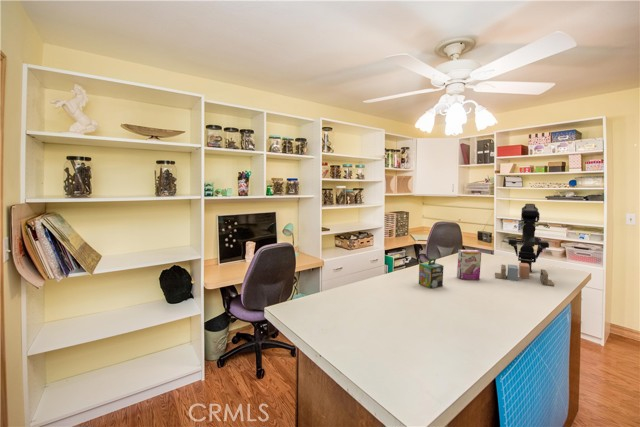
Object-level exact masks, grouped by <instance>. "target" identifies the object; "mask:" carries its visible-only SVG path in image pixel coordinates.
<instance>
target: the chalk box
mask: <svg viewBox="0 0 640 427" xmlns="http://www.w3.org/2000/svg"><path fill="white" fill-rule="evenodd" d="M436 261H437V258H430V259H429V260H428V261H425V262H421V263H419V265H418V284H419V285H422V286H424V287H427V288H428V289H435V288H439V287H443V286H444V285H443V283H444V264H439V263H437V262H436Z"/></svg>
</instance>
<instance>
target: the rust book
mask: <svg viewBox="0 0 640 427" xmlns="http://www.w3.org/2000/svg"><path fill="white" fill-rule="evenodd" d="M530 273H531V272H530V266H529V264H527V263H521V262H519V263H518V278H520V279H528V280H529V279H530Z"/></svg>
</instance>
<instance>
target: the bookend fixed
mask: <svg viewBox="0 0 640 427" xmlns="http://www.w3.org/2000/svg"><path fill="white" fill-rule="evenodd" d="M500 266H501V268H500V272H494V279H499V280H506V279H507V276H506V274H507V267H506V264H501V265H500Z"/></svg>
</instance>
